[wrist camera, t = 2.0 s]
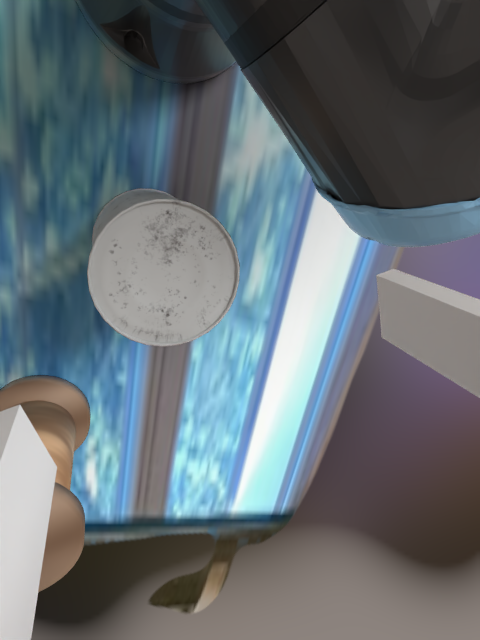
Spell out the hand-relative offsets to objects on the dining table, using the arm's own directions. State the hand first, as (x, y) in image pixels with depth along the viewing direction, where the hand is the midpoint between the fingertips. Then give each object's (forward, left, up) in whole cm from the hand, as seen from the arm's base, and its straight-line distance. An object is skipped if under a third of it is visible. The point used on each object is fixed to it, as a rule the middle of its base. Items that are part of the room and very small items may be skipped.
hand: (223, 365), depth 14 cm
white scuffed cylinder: (0, 0, -25) cm, 25 cm away
